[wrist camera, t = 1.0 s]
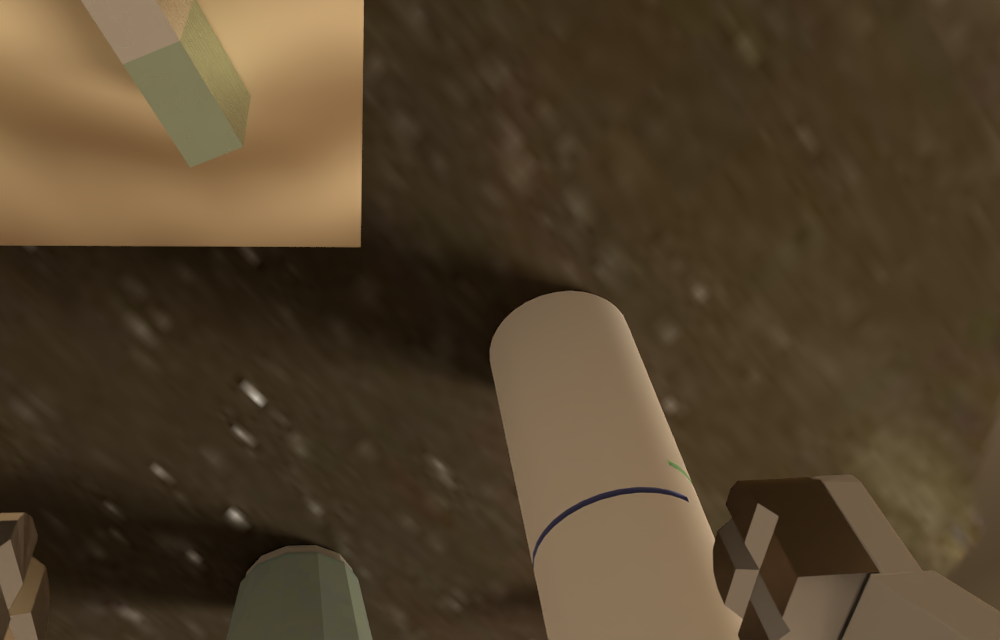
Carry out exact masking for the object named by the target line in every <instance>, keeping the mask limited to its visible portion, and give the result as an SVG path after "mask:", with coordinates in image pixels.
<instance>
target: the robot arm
mask: <svg viewBox="0 0 1000 640" xmlns="http://www.w3.org/2000/svg"><path fill="white" fill-rule="evenodd" d="M726 506H727V508H728V510H729V512H730V514H731V516H732V518H731V519H730V520H729V521H727V522H726V523H725V524H724V525H723V526H722V527H721V528H719V529H718V531H717V535H716V539H715V542H714V546H713V572H714V577H715V581H716V585H717V589H718V591H719V593H720V596H721V598H722V600H723V603H724V605H725V606H726V607H728V608H729V609H730V610H732V611H733V612H734V613H736V614H737V615H738V616H740V617H741V618H742V619H743V620H742V623H741V626H740V629H739V632H738V637H739V639H740V640H1000V612H999V611H998V610H996V609H994V608H992V607H991V606H990V605H988V604H987V603H985V602H983V601H982V600H980V599H979V598H977V597H975V596H974V595H972V594H971V593H969V592H967V591H965V590H964V589H962V588H961V587H959V586H958V585H956V584H954V583H953V582H951V581H950V580H948V579H946V578H945V577H943V576H942V575H940V574H938V573H937V572H935V571H922V570H921V568H920V567H919V565H918V564H917V562H916V561H915V560H914V558H913V557H912V555H911V554H910V552H909V551H908V549H907V548H906V547H905V545H904V544H903V542H902V541H901V539H900V538H899V536H898V535H897V534H896V532H895V531H894V529H893V528H892V526H891V525H890V524H889V522H888V521H887V519H886V518H885V516H884V515H883V513H882V512H881V511H880V509H879V508H878V506H877V505H876V503H875V502H874V500H873V499H872V498H871V496H870V495H869V493H868V492H867V490H866V489H865V487H864V486H863V485H862V483H861V482H860V481H859V480H858V479H857V478H855V477H854V476H852V475H834V476H816V477H812V478H809V477H801V478H783V479H764V480H745V481H737V482H736V483H735V484H734V485H733V487H732V488H731V489H730V492H729V495H728V498H727V501H726ZM37 539H38V535H37V532H36V529H35V525H34V522H33V519H32V516H31V515H29V514H27V513H0V640H45V636H46V632H47V628H48V619H49V610H50V589H49V580H48V576H47V571H46V567H45V565H43V564H42V563H40V562H39V561H38V560H36V559H35V558H34V557H32V554H33V551H34V548H35V545H36V542H37Z"/></svg>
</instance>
